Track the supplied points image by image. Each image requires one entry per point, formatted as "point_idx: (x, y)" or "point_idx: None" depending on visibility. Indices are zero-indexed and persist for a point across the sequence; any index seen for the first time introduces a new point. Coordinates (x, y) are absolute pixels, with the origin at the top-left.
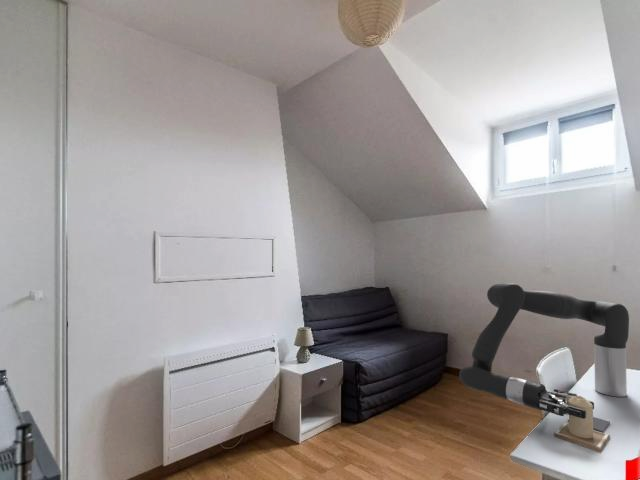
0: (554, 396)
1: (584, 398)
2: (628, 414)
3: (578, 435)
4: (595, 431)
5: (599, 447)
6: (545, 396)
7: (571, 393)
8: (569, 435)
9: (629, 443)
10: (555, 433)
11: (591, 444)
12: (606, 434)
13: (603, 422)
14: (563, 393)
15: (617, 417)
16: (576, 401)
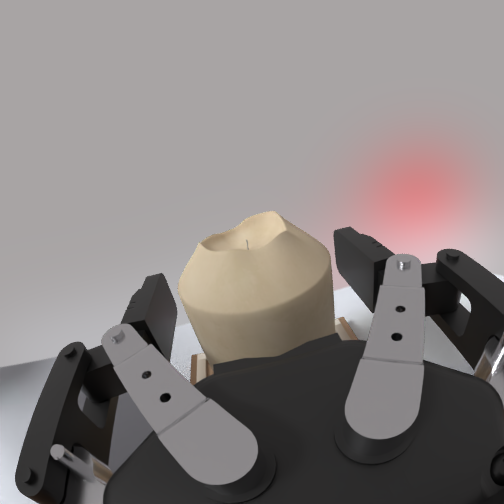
0: (381, 358)
1: (209, 237)
2: (8, 373)
3: None
4: None
5: (338, 320)
6: (428, 470)
7: (57, 371)
8: None
9: (190, 329)
10: None
11: (347, 334)
12: (201, 356)
13: (85, 397)
14: (131, 383)
15: (27, 386)
16: (304, 237)
